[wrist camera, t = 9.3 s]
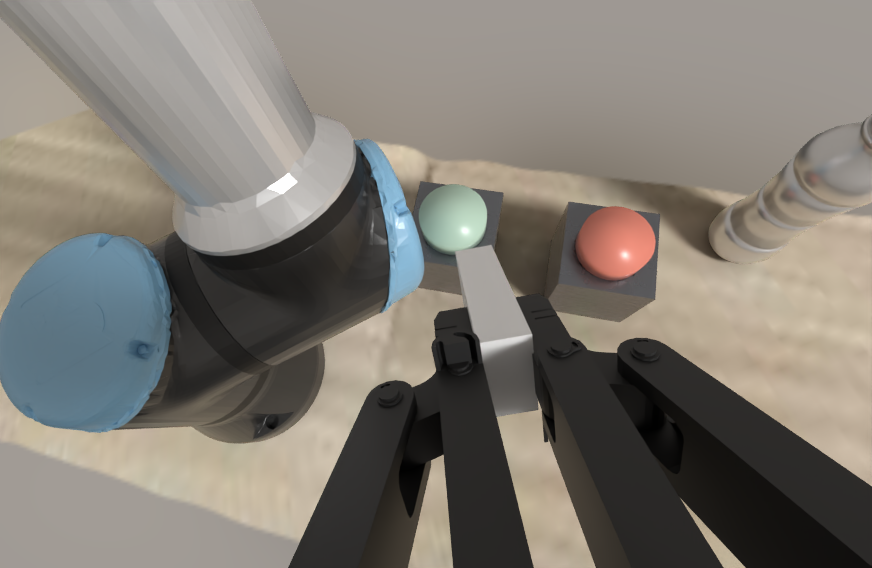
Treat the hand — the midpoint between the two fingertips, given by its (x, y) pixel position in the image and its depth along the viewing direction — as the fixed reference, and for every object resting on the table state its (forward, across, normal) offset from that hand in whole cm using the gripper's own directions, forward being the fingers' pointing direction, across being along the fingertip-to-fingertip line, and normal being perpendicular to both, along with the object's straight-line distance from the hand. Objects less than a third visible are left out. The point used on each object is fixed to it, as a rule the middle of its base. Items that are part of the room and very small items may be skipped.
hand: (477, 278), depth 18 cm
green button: (+27, 0, -10) cm, 29 cm away
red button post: (+25, +13, -15) cm, 32 cm away
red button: (+24, +13, -14) cm, 30 cm away
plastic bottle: (+26, +30, -14) cm, 42 cm away
